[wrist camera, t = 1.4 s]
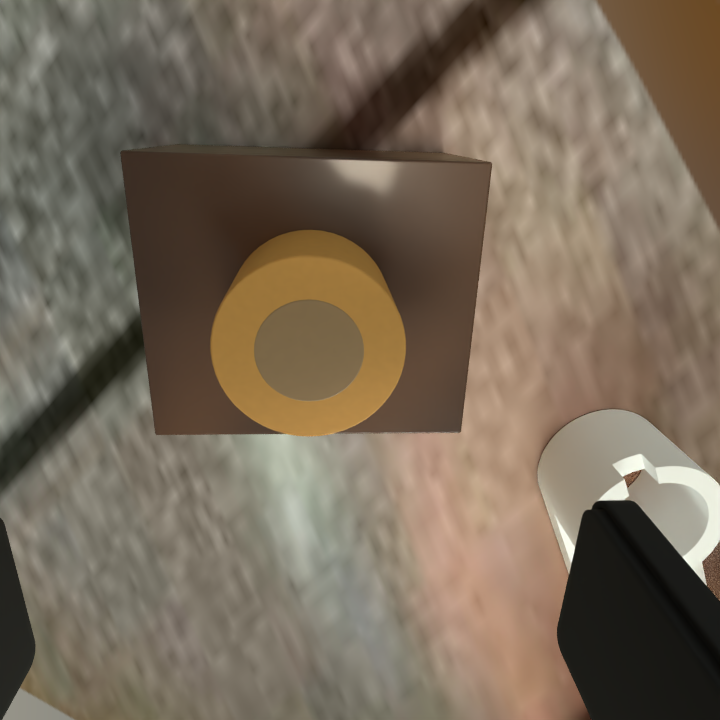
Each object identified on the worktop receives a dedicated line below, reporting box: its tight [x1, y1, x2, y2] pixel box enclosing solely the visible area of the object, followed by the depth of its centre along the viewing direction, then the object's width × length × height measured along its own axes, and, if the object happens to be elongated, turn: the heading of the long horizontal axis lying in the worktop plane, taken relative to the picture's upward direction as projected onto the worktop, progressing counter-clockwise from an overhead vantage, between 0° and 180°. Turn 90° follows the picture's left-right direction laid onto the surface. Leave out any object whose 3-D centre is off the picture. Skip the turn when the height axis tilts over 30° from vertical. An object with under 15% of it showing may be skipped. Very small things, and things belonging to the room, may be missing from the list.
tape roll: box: [210, 230, 406, 436], centre depth 21 cm, size 7×7×5 cm
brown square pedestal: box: [120, 144, 492, 435], centre depth 27 cm, size 14×12×9 cm
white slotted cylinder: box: [537, 409, 720, 586], centre depth 37 cm, size 20×9×7 cm, turn 22°
